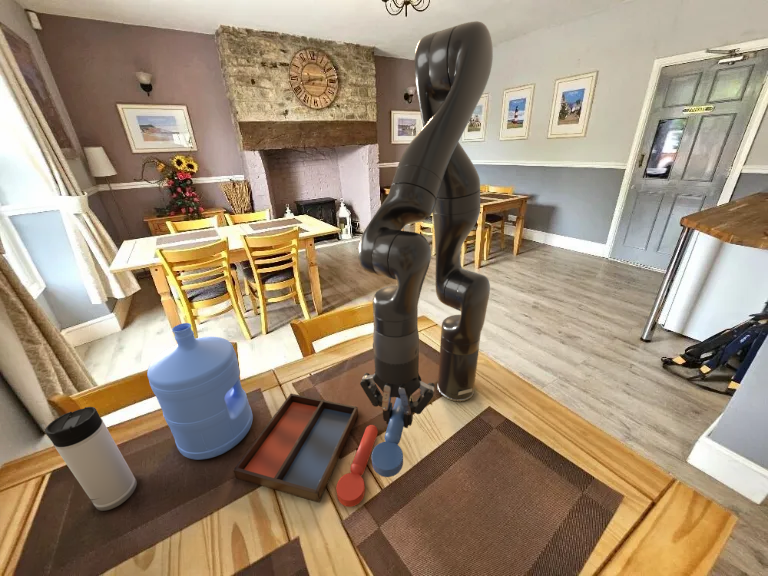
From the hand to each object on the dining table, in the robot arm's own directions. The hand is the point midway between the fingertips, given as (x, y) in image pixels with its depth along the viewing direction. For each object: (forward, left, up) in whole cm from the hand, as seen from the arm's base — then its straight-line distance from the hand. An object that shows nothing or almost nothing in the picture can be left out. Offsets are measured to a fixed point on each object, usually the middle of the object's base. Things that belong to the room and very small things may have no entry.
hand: (398, 422), depth 59 cm
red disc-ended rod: (+3, -7, -11) cm, 13 cm away
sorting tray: (+1, -21, -11) cm, 24 cm away
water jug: (+3, -42, -11) cm, 44 cm away
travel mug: (+20, -50, -11) cm, 55 cm away
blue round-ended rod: (+3, 0, 0) cm, 3 cm away
